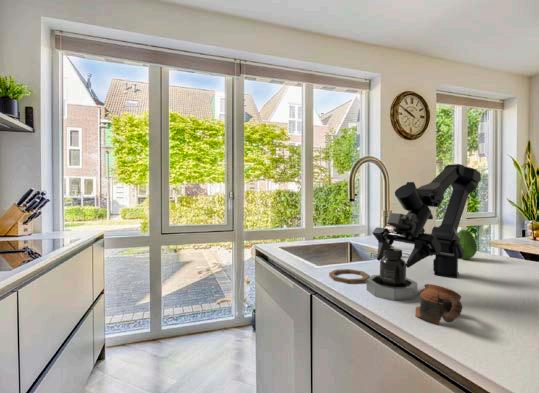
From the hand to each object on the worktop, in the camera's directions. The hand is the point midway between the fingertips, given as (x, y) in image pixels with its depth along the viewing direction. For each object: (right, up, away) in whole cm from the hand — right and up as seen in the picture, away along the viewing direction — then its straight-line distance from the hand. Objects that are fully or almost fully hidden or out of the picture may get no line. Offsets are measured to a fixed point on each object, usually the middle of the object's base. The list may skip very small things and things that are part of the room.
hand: (391, 263), depth 84 cm
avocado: (+45, -7, +37) cm, 59 cm away
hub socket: (0, -8, 0) cm, 8 cm away
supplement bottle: (0, -8, 0) cm, 8 cm away
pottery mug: (+4, -9, -17) cm, 20 cm away
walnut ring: (-8, -8, +14) cm, 18 cm away
